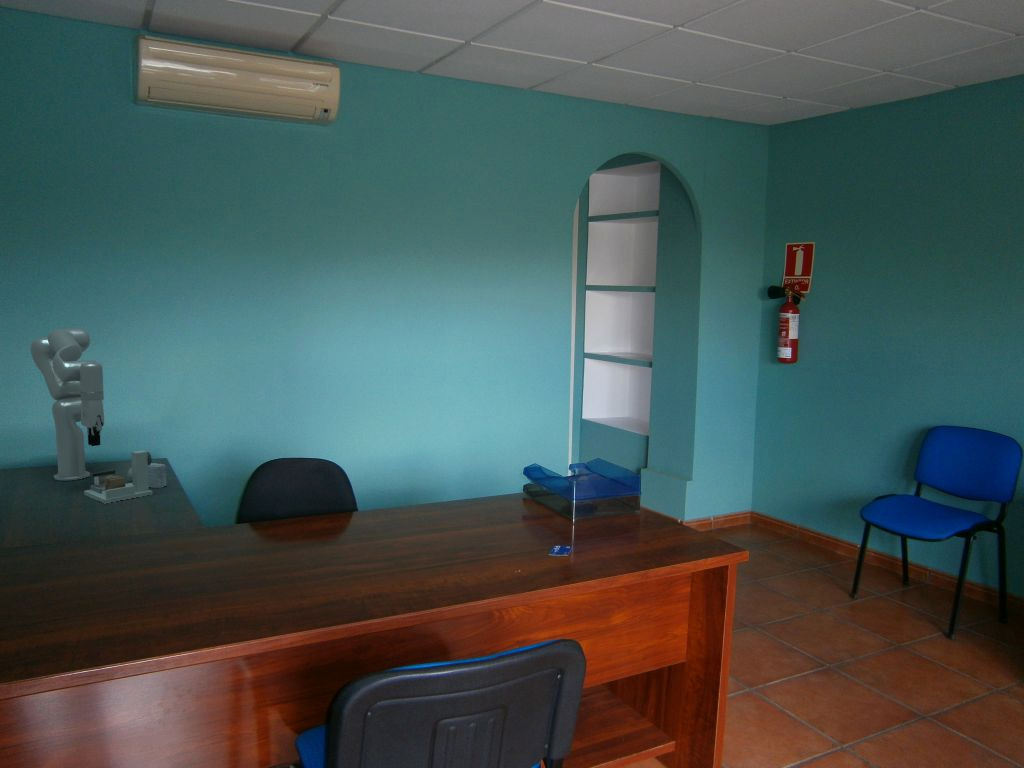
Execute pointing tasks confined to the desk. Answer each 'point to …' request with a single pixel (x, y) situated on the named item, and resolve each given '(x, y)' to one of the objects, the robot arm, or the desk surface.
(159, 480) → the medicine box
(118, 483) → the block
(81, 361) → the robot arm
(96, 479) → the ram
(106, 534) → the desk surface
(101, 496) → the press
